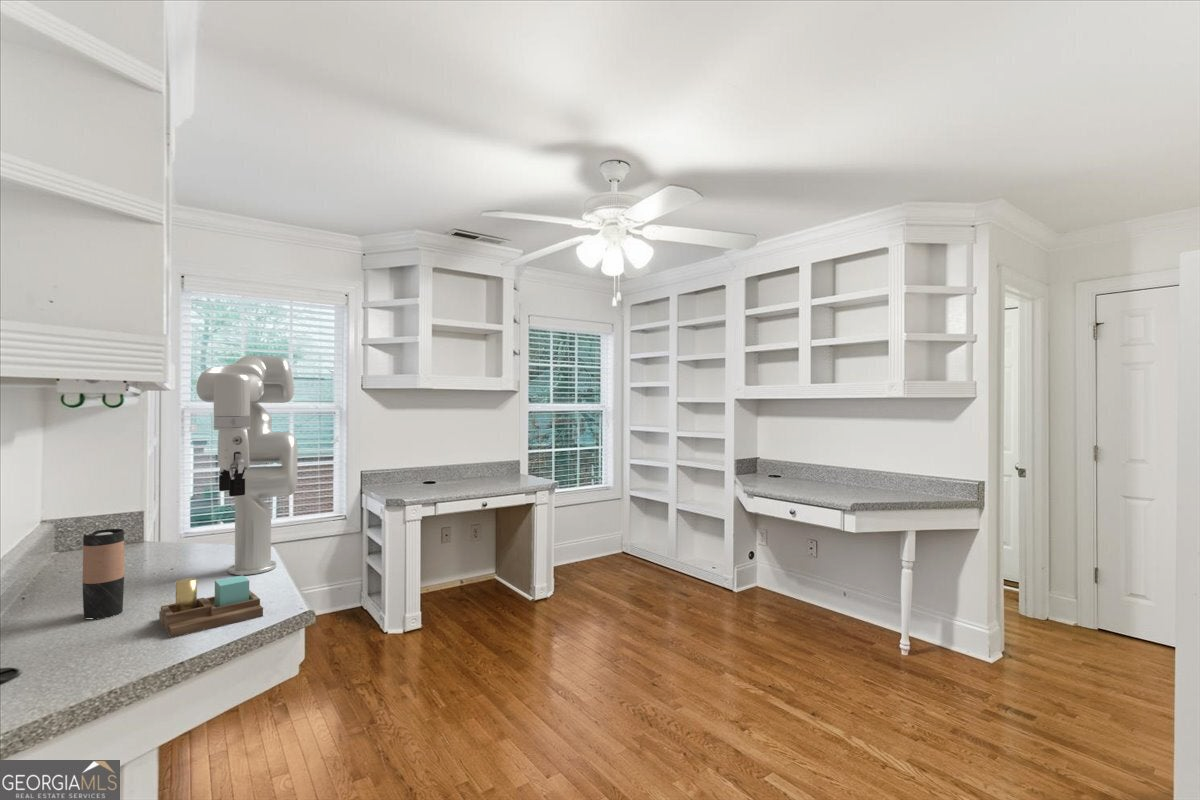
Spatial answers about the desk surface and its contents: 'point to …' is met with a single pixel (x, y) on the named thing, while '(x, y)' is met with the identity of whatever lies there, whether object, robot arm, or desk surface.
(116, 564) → the travel mug
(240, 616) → the organizer
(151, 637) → the desk surface
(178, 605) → the peg
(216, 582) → the block
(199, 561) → the desk surface
